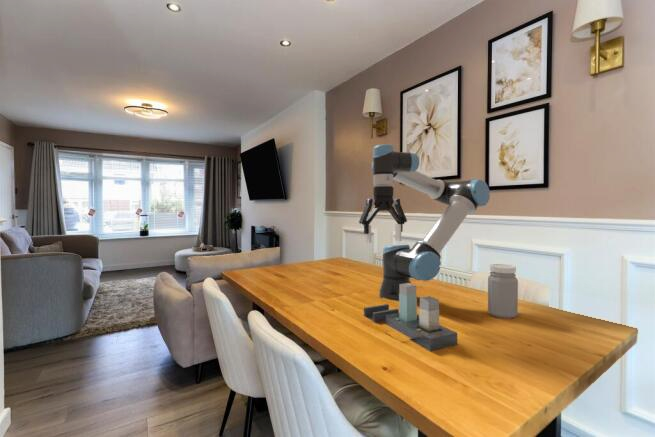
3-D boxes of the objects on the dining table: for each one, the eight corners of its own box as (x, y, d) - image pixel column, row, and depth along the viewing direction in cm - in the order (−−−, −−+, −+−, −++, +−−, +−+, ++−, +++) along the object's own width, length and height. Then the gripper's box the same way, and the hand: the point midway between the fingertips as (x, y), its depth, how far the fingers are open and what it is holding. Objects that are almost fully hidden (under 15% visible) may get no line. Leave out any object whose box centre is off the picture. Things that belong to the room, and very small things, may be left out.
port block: (408, 320, 112) (408, 285, 112) (457, 344, 92) (457, 301, 92) (384, 325, 108) (384, 288, 108) (430, 351, 88) (430, 306, 87)
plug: (409, 324, 107) (408, 282, 107) (416, 328, 103) (416, 285, 103) (399, 326, 106) (399, 284, 105) (406, 330, 102) (406, 286, 101)
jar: (520, 314, 117) (521, 265, 116) (514, 321, 110) (514, 269, 109) (492, 308, 124) (492, 262, 123) (483, 315, 117) (484, 266, 116)
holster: (386, 313, 120) (386, 303, 120) (399, 319, 113) (399, 309, 113) (363, 317, 116) (363, 307, 116) (375, 324, 109) (375, 313, 109)
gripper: (359, 184, 113) (360, 244, 114) (415, 186, 123) (416, 240, 124) (349, 186, 120) (350, 242, 121) (403, 187, 130) (404, 239, 131)
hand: (383, 241), depth 122 cm, fingers open, 13 cm apart
